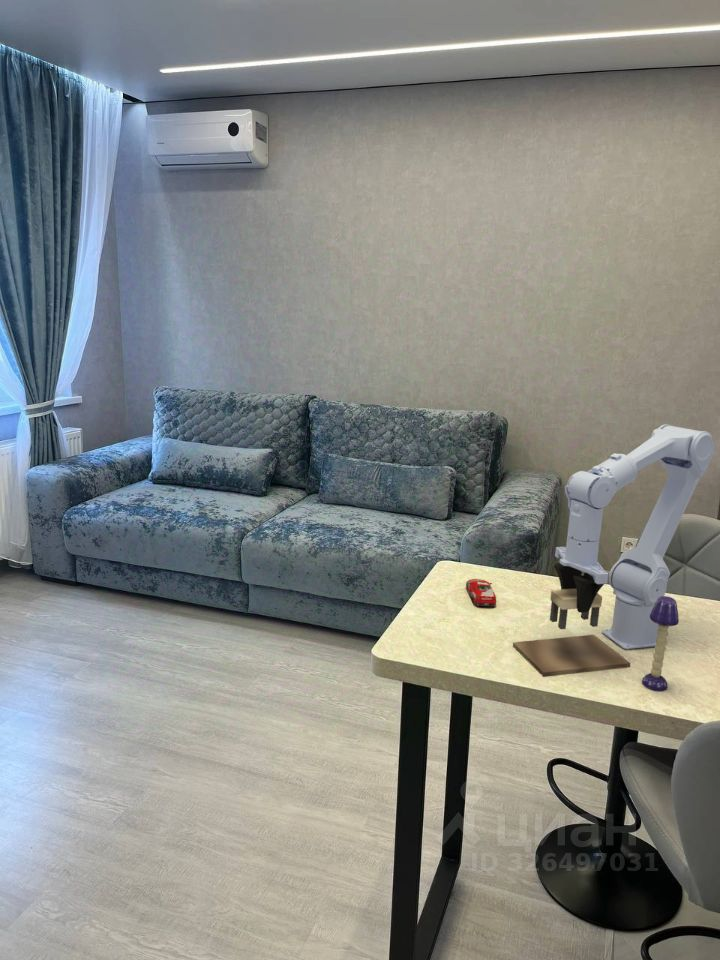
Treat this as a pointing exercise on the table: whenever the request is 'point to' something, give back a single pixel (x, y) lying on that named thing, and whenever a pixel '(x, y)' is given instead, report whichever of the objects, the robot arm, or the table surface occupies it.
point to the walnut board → (570, 655)
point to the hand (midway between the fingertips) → (575, 605)
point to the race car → (481, 592)
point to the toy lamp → (661, 640)
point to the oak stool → (571, 607)
